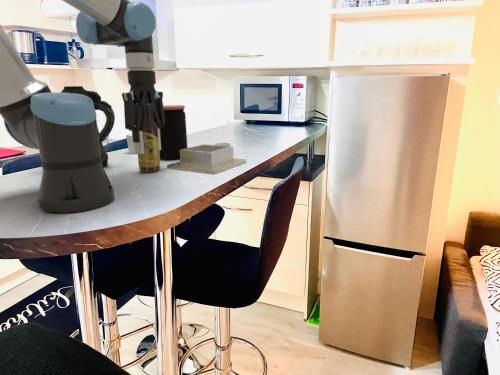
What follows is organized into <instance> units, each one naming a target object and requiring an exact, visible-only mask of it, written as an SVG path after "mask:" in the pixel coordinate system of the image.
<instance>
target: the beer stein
mask: <svg viewBox="0 0 500 375" xmlns="http://www.w3.org/2000/svg"><path fill="white" fill-rule="evenodd" d="M60 93H72V94H73V93H75V94H81V95H85V96H88V97H89V98H91V99H92V101H93V103H94V108H95V111H100V112H103V114H104V116H105V123H104V126H103V128H102V129H101V130H99V127H98V125H97V129H98V137H99V145H100V153H101V161H102V166H103V168H104V169H105V168H107V167H108V161H109V154H108V153H107V151H106V149H105V147H104V145H103V142H104V141H105V140H106V139H107V138H108V136H110V134H111V132H112V130H113V128H114V125H115V119H116V117H115V116H116V115H115V112H114V109H113V107H112V105H111V104H110V103H108V101H105V100H102V97H101V95H100V94H99V92H97V91H93V90H92V91H91V90H87V89H86V88H84V87H83V86H82V85H81V86H80V85H76V86H75V85H73V86H72V85H71V86H65V85H64V86H63V89H62V90H61V91H60Z"/></svg>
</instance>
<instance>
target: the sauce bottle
mask: <svg viewBox="0 0 500 375" xmlns="http://www.w3.org/2000/svg"><path fill="white" fill-rule="evenodd" d="M139 131H142V135H143V145H144V154H137V162H138V167H139V168H138V169H139V171H140V172H142V173H155V172H158V171H160V169H161V167H160V166H161V159H160V153H159V136H158V127H157V125H156V123H155V122H154V117H153V104H144V107H143V109H142V116H141V123H140V130H139Z"/></svg>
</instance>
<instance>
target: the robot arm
mask: <svg viewBox="0 0 500 375" xmlns="http://www.w3.org/2000/svg"><path fill="white" fill-rule="evenodd" d="M61 1H62V2H64V3H65V4H68V5H69V6H71V7H73V8H74V9H76V10H78V11H79V12H78V14H77V16H76V20H75V27H76V33H77V36H78V37H79V40H81V41H82V42H83V43H85V44H89V45H94V46H97V45H98V46H99V45H102V46H114V47H115V46H116V47H117V46H118V47H124V53H125V54H124V55H125V63H126V65H125V66H126V69H128V70H127V81H128V82H127V83H128V85H130V89H129V91H128V92H122V93H121V98H122V101H123V108H124V110H123V112H124V127H125V128H124V129H125V130H128V131H129V132H131V134H132V137H133V142H135V152H136V153H137V154H136V155H138V154H144V145H143V135H142V131H139V130H140V123H141V116H142V109H143V107H144V104H153V117H154V122H155V123H156V125H157V127H158V136H159V150H161V141H160V138H161V128H163V125H165V116H164V108H163V106H164V103H163V98H164V96H163V95H164V93H163V92H162V91H157V90H156V88H155V85H156V83H157V79H156V72H155V58H154V46H153V44H154V43H153V34H154V32H155V31H156V25H157V21H156V16H155V13H154V12H153V10H152V8H151V7H150V6H149V5H147V4H146V3H145V2H141V1H132V2H131V1H129V0H61ZM153 69H154V70H153ZM96 111H97V110H95V108H94V103H93V101H92V99H91V98H89V97H88V96H85V95H81V94H75V93H73V94H72V93H61V92H57V91H55V92H53V91H52V90H51V89H50V87H49V85H48V84H47V82H44V81H41V80H38V79H37V78H35V77H34V75H33V73H32V72H31V70H30V69H29V67H28V66H27V64H26V63H25V61H24V59H23V58H22V56H21V55H20V53H19V51H18V50H17V48H16V47H15V45H14V43H13V42H12V41H11V39H10V38H9V35H7V32H6V31H5V29H4V28H3V27H2V25H1V24H0V116H1V118H2V120H3V123H4V128H5V130H6V131H7V133H8V134H9V136H10V137H11V138H12V139H13V140H15V141H16V142H17V143H18V144H20V145H22V146H24V147H27V148H29V149H34V150H38V151H39V157H40V161H41V169H42V175H41V180H40V185H39V191H38V197H37V200H38V206H39V210H41V211H43V212H45V211H47V212H46V213H51V212H57V213H56V214H66V213H67V214H69V212H70V213H79V212H83V211H84V212H85V211H89V210H94V209H97V208H101V207H103V206H106V205H108V204H110V203H112V202H113V201H114V200H115V198H116V197H115V190H114V187H113V185H112V183H111V181H110V179H109V177H108V174H107V172H106V171H105V168H103V166H102V161H101V153H100V145H99V137H98V130H99V128H98V129H97V126H98V122H97V112H96Z"/></svg>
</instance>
